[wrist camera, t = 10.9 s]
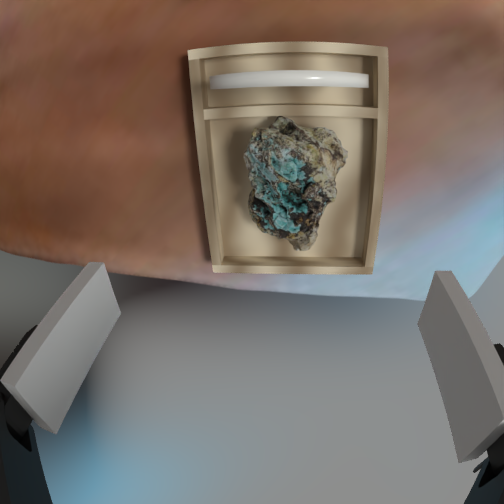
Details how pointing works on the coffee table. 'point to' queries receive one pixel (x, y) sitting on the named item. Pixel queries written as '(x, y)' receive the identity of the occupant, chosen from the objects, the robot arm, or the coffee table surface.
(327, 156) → the mineral specimen
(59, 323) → the robot arm
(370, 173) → the wooden tray
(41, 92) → the coffee table surface
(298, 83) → the standing plate
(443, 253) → the coffee table surface
